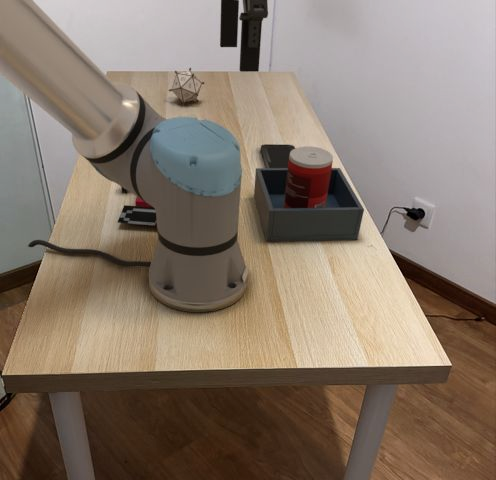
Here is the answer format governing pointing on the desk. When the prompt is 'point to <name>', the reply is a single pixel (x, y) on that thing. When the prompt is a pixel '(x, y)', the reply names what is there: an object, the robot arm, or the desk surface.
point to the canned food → (308, 178)
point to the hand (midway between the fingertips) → (238, 58)
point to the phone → (276, 155)
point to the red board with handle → (138, 213)
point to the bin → (306, 210)
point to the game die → (186, 86)
